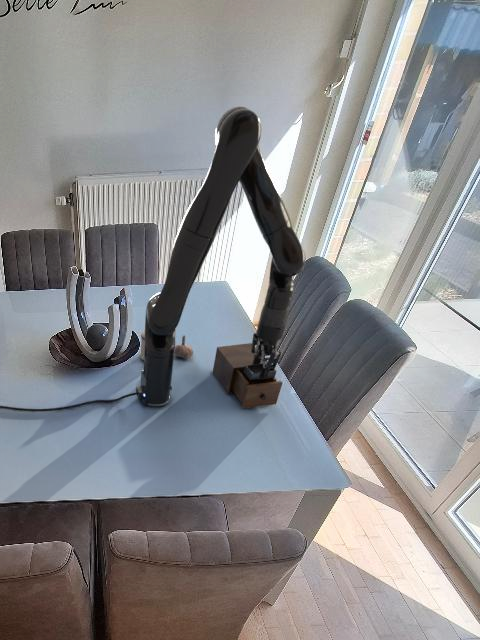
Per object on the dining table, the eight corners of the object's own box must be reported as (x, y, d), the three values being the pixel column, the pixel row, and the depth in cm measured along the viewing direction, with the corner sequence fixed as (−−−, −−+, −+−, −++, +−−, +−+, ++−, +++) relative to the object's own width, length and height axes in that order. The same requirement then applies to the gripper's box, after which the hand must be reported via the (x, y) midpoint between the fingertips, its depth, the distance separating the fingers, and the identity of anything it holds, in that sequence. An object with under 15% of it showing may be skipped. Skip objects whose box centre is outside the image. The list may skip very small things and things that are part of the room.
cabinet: (263, 389, 155) (270, 363, 148) (228, 394, 154) (233, 367, 147) (245, 368, 165) (251, 342, 158) (212, 372, 164) (216, 346, 157)
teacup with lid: (145, 365, 168) (146, 334, 160) (136, 353, 174) (137, 323, 166) (175, 359, 171) (178, 329, 162) (165, 348, 177) (168, 318, 168)
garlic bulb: (169, 353, 174) (171, 332, 168) (186, 350, 175) (189, 329, 170) (177, 362, 169) (180, 341, 163) (195, 359, 170) (198, 338, 165)
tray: (250, 381, 142) (252, 374, 140) (243, 372, 146) (245, 365, 144) (274, 378, 143) (276, 370, 141) (266, 369, 147) (268, 362, 145)
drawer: (277, 406, 147) (284, 384, 141) (244, 410, 145) (249, 389, 140) (258, 382, 157) (263, 361, 151) (226, 386, 155) (231, 365, 150)
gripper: (250, 311, 136) (238, 363, 148) (271, 332, 126) (257, 386, 139) (273, 308, 137) (260, 361, 149) (297, 329, 127) (280, 383, 140)
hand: (259, 373), depth 144 cm, fingers closed on tray, 5 cm apart
